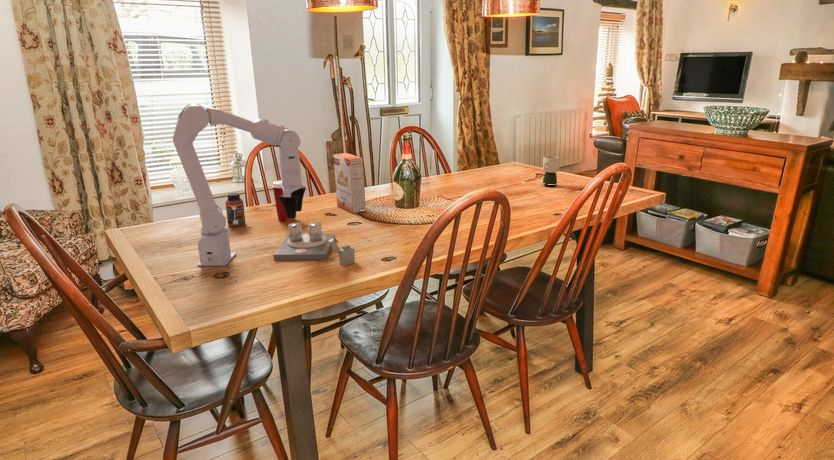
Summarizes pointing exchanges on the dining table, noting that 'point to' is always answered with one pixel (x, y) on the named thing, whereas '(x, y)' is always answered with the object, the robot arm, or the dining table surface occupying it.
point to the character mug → (550, 169)
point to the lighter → (343, 252)
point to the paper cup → (279, 206)
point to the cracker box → (349, 182)
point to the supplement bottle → (235, 210)
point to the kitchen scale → (304, 248)
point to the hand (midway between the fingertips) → (294, 214)
